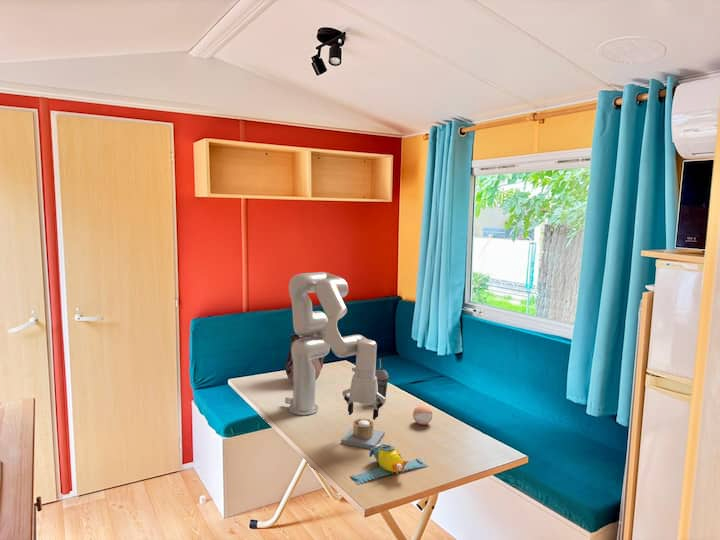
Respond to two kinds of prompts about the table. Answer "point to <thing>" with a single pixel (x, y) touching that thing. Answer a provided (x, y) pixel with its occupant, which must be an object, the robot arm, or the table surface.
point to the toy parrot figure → (386, 463)
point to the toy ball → (422, 414)
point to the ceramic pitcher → (316, 362)
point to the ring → (363, 430)
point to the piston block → (367, 443)
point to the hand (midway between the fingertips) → (362, 416)
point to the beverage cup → (381, 381)
